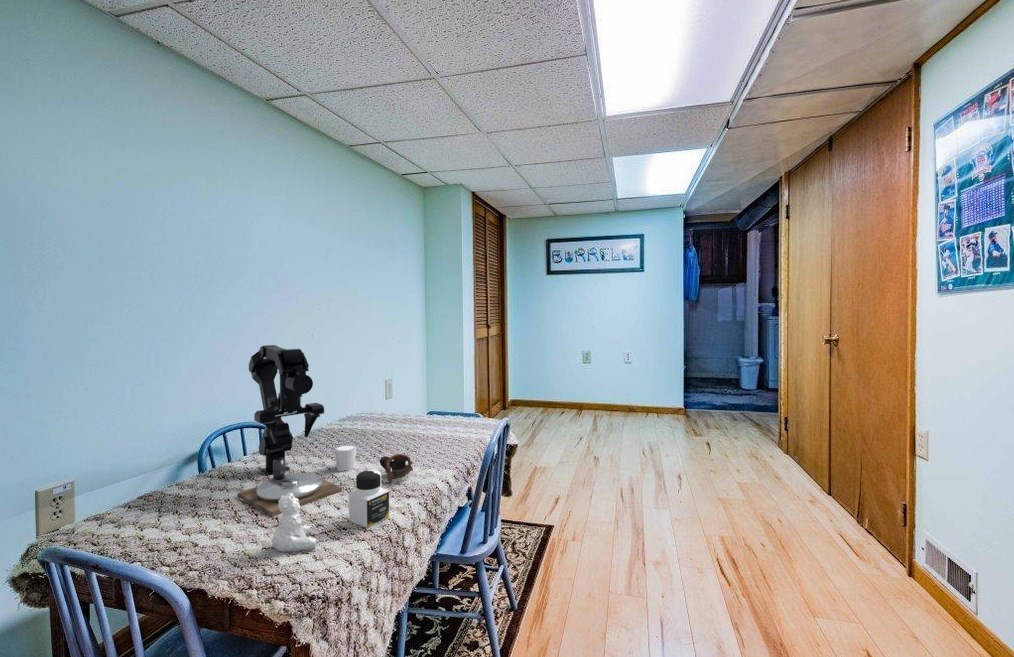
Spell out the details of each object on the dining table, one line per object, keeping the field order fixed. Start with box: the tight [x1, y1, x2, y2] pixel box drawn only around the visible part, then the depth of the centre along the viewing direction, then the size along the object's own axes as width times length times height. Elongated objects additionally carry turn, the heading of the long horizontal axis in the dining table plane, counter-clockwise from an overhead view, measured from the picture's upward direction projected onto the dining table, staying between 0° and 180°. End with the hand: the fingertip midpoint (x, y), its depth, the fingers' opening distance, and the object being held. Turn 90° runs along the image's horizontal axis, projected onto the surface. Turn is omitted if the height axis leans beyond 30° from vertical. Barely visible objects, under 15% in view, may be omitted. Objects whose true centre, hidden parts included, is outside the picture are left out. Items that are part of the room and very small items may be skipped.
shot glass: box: [334, 444, 357, 472], centre depth 147 cm, size 7×7×7 cm
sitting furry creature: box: [271, 493, 317, 553], centre depth 98 cm, size 10×9×12 cm
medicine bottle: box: [348, 469, 390, 529], centre depth 111 cm, size 7×7×12 cm
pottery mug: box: [379, 453, 414, 483], centre depth 140 cm, size 12×10×8 cm
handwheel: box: [256, 458, 323, 502], centre depth 126 cm, size 17×17×7 cm
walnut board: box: [236, 478, 343, 518], centre depth 126 cm, size 20×20×1 cm
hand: (290, 440), depth 135 cm, fingers open, 9 cm apart
